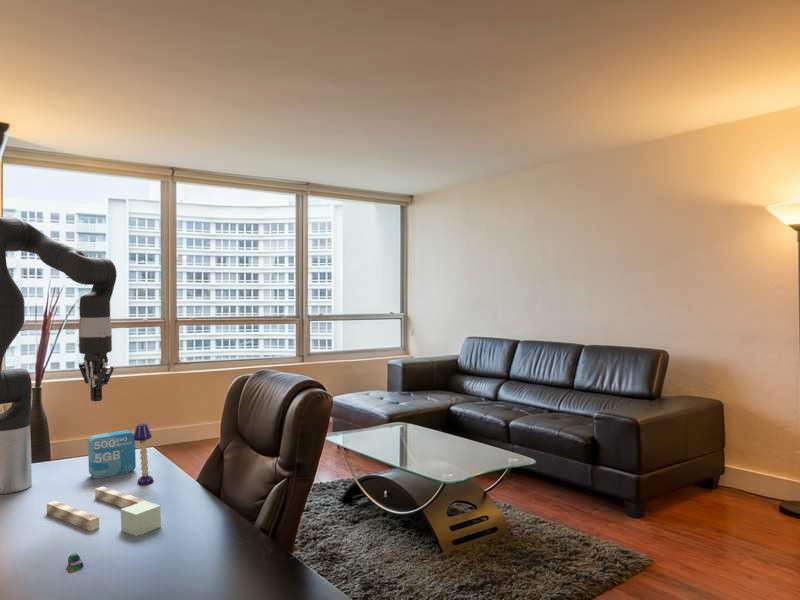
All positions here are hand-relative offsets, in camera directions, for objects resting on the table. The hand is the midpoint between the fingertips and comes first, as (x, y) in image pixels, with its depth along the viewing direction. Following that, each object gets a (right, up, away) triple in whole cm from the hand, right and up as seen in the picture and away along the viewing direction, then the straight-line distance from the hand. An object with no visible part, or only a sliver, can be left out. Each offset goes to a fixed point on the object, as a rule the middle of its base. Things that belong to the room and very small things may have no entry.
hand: (96, 400), depth 149 cm
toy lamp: (+6, -26, +14) cm, 30 cm away
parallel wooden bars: (+4, -26, -8) cm, 28 cm away
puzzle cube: (+15, -27, -36) cm, 47 cm away
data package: (-7, -26, +23) cm, 35 cm away
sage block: (+20, -26, -18) cm, 37 cm away
